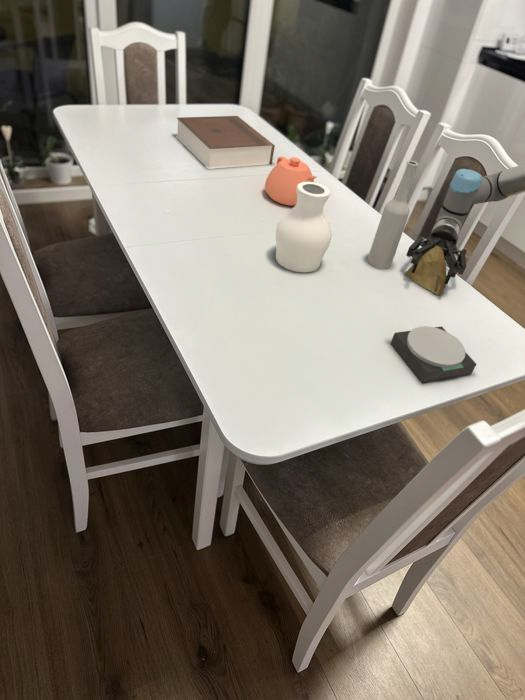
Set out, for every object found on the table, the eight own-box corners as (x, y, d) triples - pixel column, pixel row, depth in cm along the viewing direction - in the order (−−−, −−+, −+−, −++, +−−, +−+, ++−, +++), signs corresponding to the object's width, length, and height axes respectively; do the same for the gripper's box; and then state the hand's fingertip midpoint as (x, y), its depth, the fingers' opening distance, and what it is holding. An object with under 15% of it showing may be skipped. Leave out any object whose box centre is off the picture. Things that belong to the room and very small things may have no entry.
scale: (472, 375, 117) (479, 361, 114) (423, 384, 112) (429, 370, 109) (437, 336, 126) (443, 322, 123) (390, 342, 121) (395, 329, 118)
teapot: (328, 213, 166) (338, 174, 158) (284, 217, 159) (292, 177, 151) (293, 181, 180) (301, 144, 172) (252, 184, 173) (257, 146, 165)
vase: (333, 260, 145) (352, 190, 132) (308, 281, 135) (326, 208, 122) (288, 240, 149) (302, 170, 136) (260, 259, 140) (273, 186, 127)
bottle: (363, 255, 149) (394, 156, 131) (384, 255, 151) (418, 157, 133) (373, 269, 144) (407, 167, 126) (395, 268, 146) (431, 168, 128)
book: (235, 133, 205) (237, 115, 201) (271, 164, 188) (274, 145, 184) (175, 136, 194) (176, 117, 190) (208, 168, 177) (210, 149, 173)
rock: (457, 291, 138) (448, 265, 144) (449, 268, 132) (440, 243, 139) (416, 305, 142) (408, 280, 148) (406, 284, 136) (399, 259, 142)
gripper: (475, 260, 152) (466, 300, 135) (404, 237, 156) (387, 273, 140) (486, 237, 147) (478, 275, 130) (412, 213, 151) (395, 247, 135)
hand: (431, 274), depth 135 cm, fingers closed on rock, 8 cm apart
